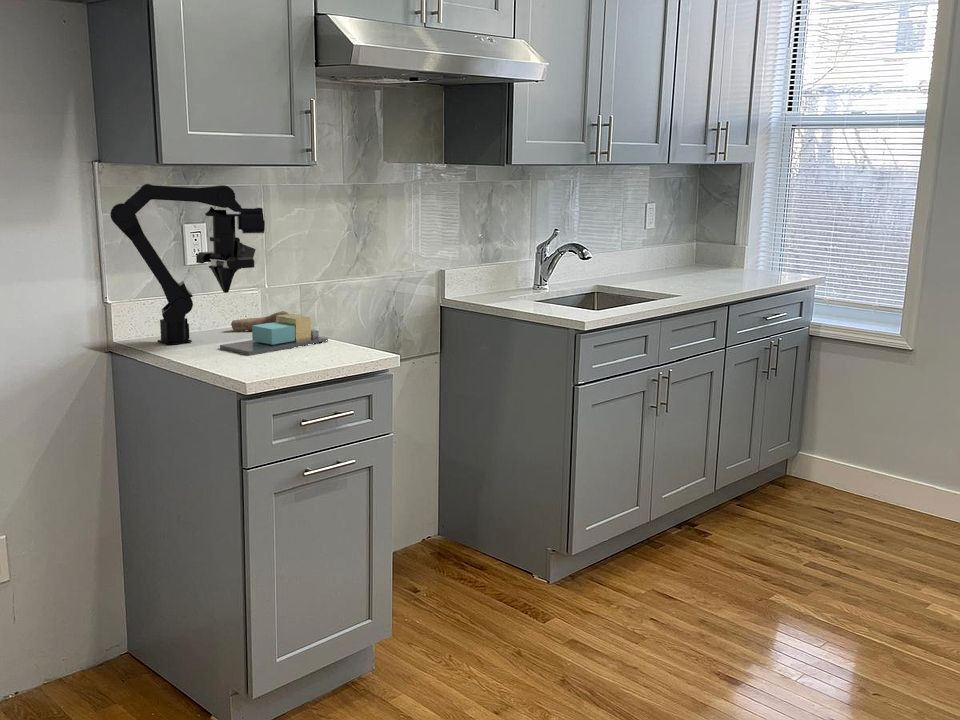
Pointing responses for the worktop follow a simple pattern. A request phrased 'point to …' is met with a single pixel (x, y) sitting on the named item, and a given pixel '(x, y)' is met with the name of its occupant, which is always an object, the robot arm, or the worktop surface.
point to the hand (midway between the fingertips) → (225, 292)
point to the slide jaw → (273, 333)
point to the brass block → (297, 325)
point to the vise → (269, 345)
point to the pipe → (254, 321)
